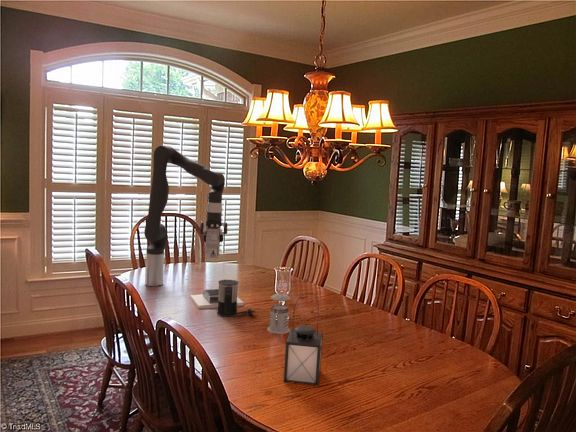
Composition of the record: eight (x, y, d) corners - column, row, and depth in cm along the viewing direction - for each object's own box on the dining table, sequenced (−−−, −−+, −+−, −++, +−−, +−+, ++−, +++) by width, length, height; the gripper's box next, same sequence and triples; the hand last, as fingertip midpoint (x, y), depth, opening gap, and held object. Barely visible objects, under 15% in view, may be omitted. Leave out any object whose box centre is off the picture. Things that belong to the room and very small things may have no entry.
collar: (209, 303, 221) (209, 297, 221) (202, 295, 234) (202, 289, 233) (230, 302, 226) (231, 295, 225) (223, 294, 238) (223, 288, 238)
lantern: (283, 382, 148) (288, 296, 145) (287, 367, 159) (292, 287, 156) (318, 386, 147) (324, 299, 144) (320, 371, 158) (326, 290, 155)
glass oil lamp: (293, 327, 199) (296, 269, 196) (285, 336, 188) (289, 275, 185) (271, 324, 202) (274, 267, 199) (262, 333, 190) (265, 272, 188)
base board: (198, 308, 217) (198, 305, 217) (190, 298, 233) (190, 295, 233) (243, 305, 226) (243, 302, 226) (232, 295, 242) (232, 292, 242)
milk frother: (214, 311, 215) (215, 279, 213) (246, 308, 222) (247, 277, 220) (224, 321, 202) (225, 287, 201) (258, 317, 209) (259, 285, 208)
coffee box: (207, 254, 249) (208, 225, 248) (219, 255, 250) (221, 225, 248) (204, 258, 240) (206, 227, 239) (217, 259, 241) (219, 228, 239)
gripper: (225, 210, 249) (224, 240, 250) (199, 210, 243) (197, 241, 245) (229, 212, 242) (228, 243, 244) (202, 211, 236) (201, 243, 238)
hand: (213, 242), depth 244 cm, fingers closed on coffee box, 8 cm apart
